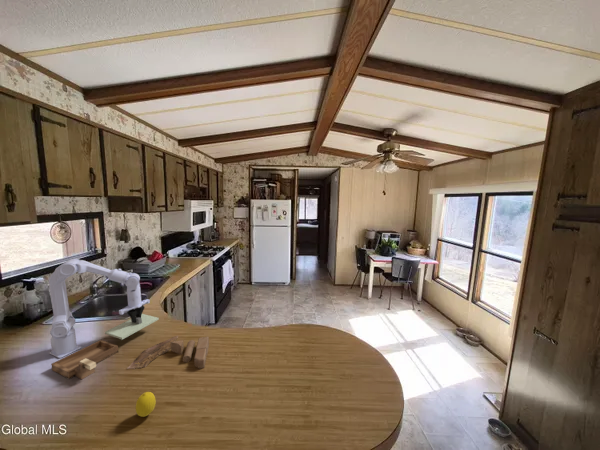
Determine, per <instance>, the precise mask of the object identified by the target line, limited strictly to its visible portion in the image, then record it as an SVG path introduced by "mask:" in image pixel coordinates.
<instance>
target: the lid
mask: <svg viewBox="0 0 600 450" xmlns="http://www.w3.org/2000/svg"><path fill="white" fill-rule="evenodd" d="M159 320H160V319H159V317H158V316H157V317H156V316H152V315H150V314H145V313H142V315H141V318H140V317H136V323H134V322H132V320H131V318H130V319H128V320H126V321H124V322H122V323H120V324H118V325H116V326H114V327H111V328H109V329H108V330H106V331H104V334H105V335H108V336H110V337H113V338H117V339H119V340H124V339H126V338H128V337H129V336H131V335H133V334H135V333H137V332H139V331H141V330H142V329H144V328H146V327H148V326H150V325H151V324H153V323H156V322H157V321H159Z"/></svg>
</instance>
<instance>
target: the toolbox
mask: <svg viewBox="0 0 600 450" xmlns="http://www.w3.org/2000/svg"><path fill="white" fill-rule="evenodd" d="M117 353H119V345H117V344H113V343H112V342H109V341H105V340H103V339H100V340H98V341H95V342H94V343H91V344H90V345H88V346H85V347H83V348H81V349H78V350H76V351H74V352H72V353H70V354H68V355H66V356H64V357H62V358H59V359H58V360H56V361H54V362H52V363H51V365H50V366H51V370H52V371H53V372H55V373H57V374H58V375H60V376H62V377H64V378H66V379H67V380H70V379H72V378H74V377H76V378H78V379H81V380H84V379H85V378H88V377H89V376H90V375H92V374H94V373H96V370H95V368H96V367H95V368H93V369H91V370H89V369H87V368H85V367H83V364H82V363H80V361H81V360H83V359H85V358H86V359H89V360H91V361H93V362H96V365H97V364H99V363H101V362H103V361H105V360H107V359H108V358H110V357H111V356H113V355H115V354H117Z"/></svg>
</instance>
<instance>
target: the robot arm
mask: <svg viewBox="0 0 600 450" xmlns="http://www.w3.org/2000/svg"><path fill="white" fill-rule="evenodd" d="M87 272H88V273H92V274H95V275H100V276H104V277H106V278H107V279H108V280H109V281H113V282H116V283H119V284H123V285H125V286H126V294H127V295H126V296H127V306H125V307H123V308H122V309H119V310H118V314H119V315H120V316H122V315H124V314H126V313H127V315H128V316H129V317H130V319H131V320H132V322H134V323H136V317H140V318H141V315H142V314H143V313H144V310H145V308H146V307H145V306H144V305H146V304H150V303H151V302H150V299H148V298H146V299H143V300H142V294H141V284H140V280H141V277H140V275H139V274H138V273H136V272H131V271H129V272H128V271H125V270H122V268H118V269H117V268H113V269H109V268H107V267H103V266H101V265H98V264H95V263H92V262H89V261H88V260H87V261H86V260H84V259H79V258H70V259H68V260H67V261H65V262H63V263H62V264H60V265H59V266H58V267H56V268H55V270H54V271H53V273H52V274H51V275H50V277H49V278H48V286H49V287H48V288H49V294H50V299H51V306H52V313H53V319H52V322H51V329H50V331H49V334H50V336H51V338H50V347H51V351H49V354H50V355H52V356H54V357H55V358H58V359H62V358H64V357H67V356H69V355H71V354H73V353H75V352H77V351H79V350H81V349H82V346H79V345H78V344H77V338H76V330H75V328H74V326H75V325H76V319H75V317H74V316H73V313H72V312H71V311H70V306H69V299H68V291H67V285H66V280H67V279H68V278H69V277H71V276H73V275H75V274H76V273H77V274H84V273H87Z"/></svg>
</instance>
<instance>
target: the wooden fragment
mask: <svg viewBox="0 0 600 450" xmlns="http://www.w3.org/2000/svg"><path fill="white" fill-rule="evenodd" d="M178 338H179V335H176V336H173V337H171V338H169V339H166V340H164V341H162V342H160V343H157V344H154V345H153V346H150V347H149V348H146V349H144V350H143V351H142V352H140V354H138V356H137V357H136V358H135V359H134V360H133V361H132V362H131V364H129V365H128V367H127V368H126V370H127V369H134V370H136V369H135V368H138V369H143V368H146V367H147V366H148V365H149V364H150V363H151V362H152V361H154V360H155V359H157V358H158V357H160V356H161V355H164V354H165V353H167V352H169V351H171V342H174V341H178ZM138 362H139V363H140V364H135V363H138ZM142 367H143V368H142Z"/></svg>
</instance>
